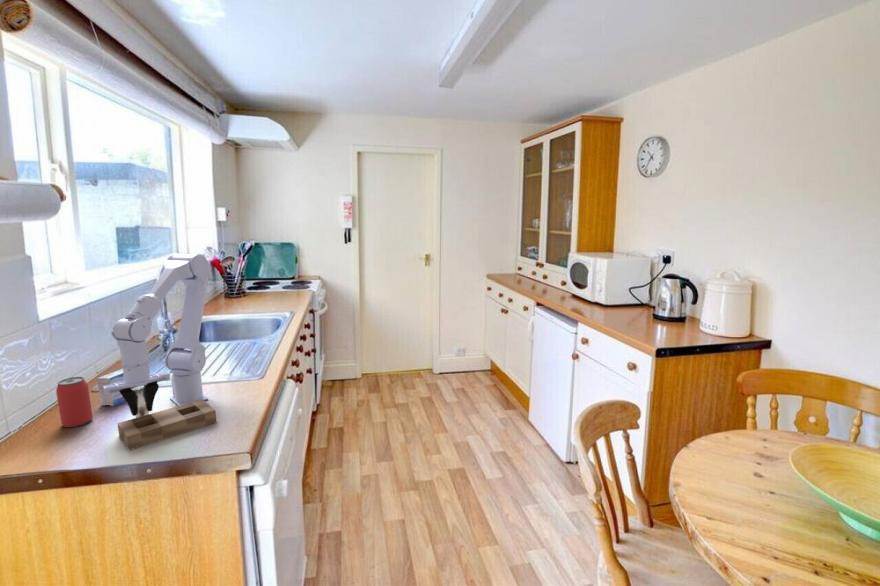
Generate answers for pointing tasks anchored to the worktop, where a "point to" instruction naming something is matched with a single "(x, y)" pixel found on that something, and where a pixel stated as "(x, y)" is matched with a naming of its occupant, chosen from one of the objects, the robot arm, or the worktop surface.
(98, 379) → the medicine box
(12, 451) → the worktop surface
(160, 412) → the hole block
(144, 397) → the steel peg
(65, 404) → the beer can
